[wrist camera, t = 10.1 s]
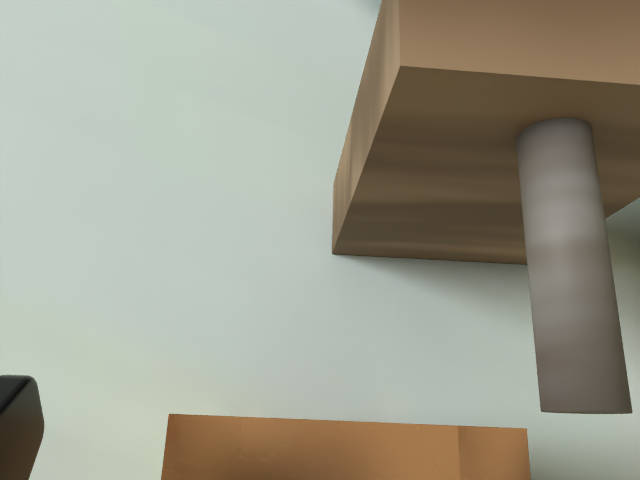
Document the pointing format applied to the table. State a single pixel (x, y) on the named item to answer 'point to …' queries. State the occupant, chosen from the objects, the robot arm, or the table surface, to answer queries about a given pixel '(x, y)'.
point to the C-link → (339, 450)
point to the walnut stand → (505, 163)
